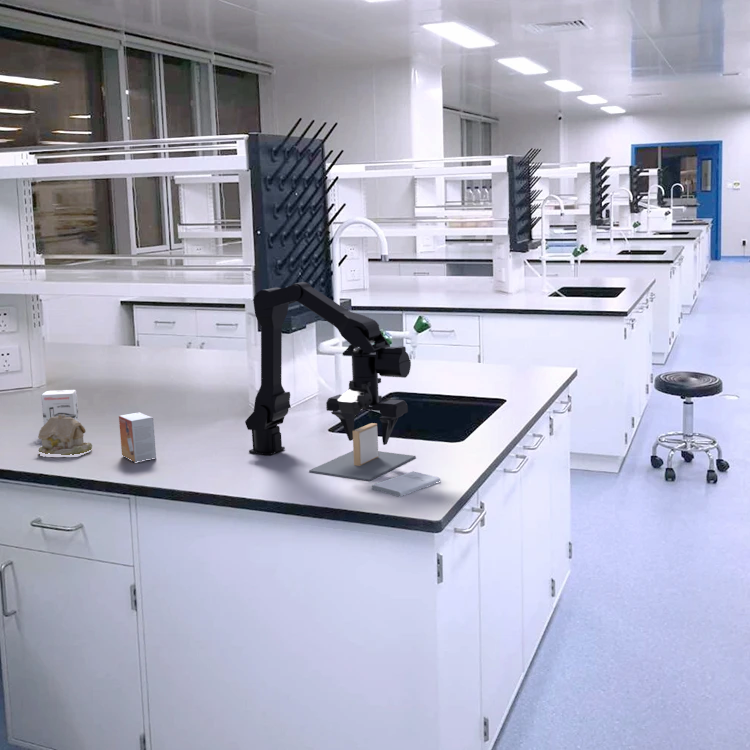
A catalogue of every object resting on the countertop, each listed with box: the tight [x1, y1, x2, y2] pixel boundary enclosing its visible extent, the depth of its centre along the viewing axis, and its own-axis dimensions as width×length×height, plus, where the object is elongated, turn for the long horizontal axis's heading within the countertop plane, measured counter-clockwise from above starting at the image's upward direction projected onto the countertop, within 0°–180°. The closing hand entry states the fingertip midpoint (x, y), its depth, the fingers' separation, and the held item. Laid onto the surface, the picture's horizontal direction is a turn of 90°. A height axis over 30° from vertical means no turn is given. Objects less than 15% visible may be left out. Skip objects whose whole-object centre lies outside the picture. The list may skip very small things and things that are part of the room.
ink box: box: [40, 389, 80, 426], centre depth 244 cm, size 9×5×12 cm, turn 95°
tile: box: [352, 422, 379, 466], centre depth 204 cm, size 2×8×8 cm, turn 148°
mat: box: [308, 450, 417, 482], centre depth 204 cm, size 16×20×1 cm
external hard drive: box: [371, 470, 441, 497], centre depth 187 cm, size 2×8×12 cm
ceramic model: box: [37, 414, 93, 455], centre depth 224 cm, size 14×11×10 cm
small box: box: [118, 411, 157, 462], centre depth 216 cm, size 8×6×10 cm
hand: (367, 442), depth 205 cm, fingers open, 9 cm apart
